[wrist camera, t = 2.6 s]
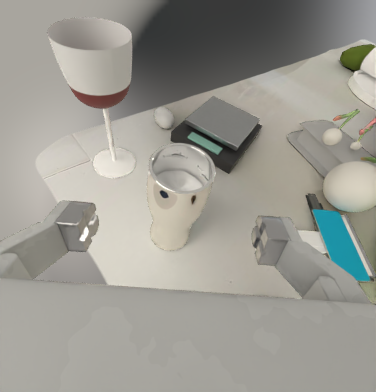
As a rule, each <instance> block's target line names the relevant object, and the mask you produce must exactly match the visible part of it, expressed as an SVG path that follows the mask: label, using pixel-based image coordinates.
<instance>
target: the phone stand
mask: <svg viewBox="0 0 376 392" xmlns="http://www.w3.org/2000/svg"><path fill="white" fill-rule="evenodd" d="M306 198H307V201H308V204H309V207H310V210H311V212H312V215H313V218H314V220H315V223H314V225H315V228H316V230H317V232H316V231H304V230H297V231H298V233H299V235H300V237H301V239H302V241H303V242H307V243H308V244H310V245H311V246H312V247H314V248H315V249H316V250H318V251H319V252H321V253H322V254H325V255H326V257H327V258H329V259H330V260H331V261H333V262H334V263H335V264H337V265H338V266H340V267H341V268H342V269H344V270H345V271H346V272H348V273H349V274H350V275H352V276H353V277H354V278H355V279H356V281H357V282H358V281H366V282H368V281H370V282H374V279H373V278H374V277H376V274H375V272H374V270H373V268H372V266H371V264H370V262H369V260H368V258H367V255H366V253H365V251H364V249H363V247H362V245H361V243H360V241H359V239H358V237H357V235H356V233H355V231H354V229H353V226H352V224H351V222H350V220H349V218H348V216H347V214H346V215H344V216H341V215H340V213H339V212H338V211H329V210H323V207H322V205H321V203H319V202H318V200H317V197H316V195H315V194H312V195H311V194H308V195H306Z"/></svg>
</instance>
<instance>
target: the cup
mask: <svg viewBox="0 0 376 392" xmlns="http://www.w3.org/2000/svg"><path fill="white" fill-rule="evenodd" d="M360 70H362V71H364V72H365V73H367V74H369V75H371V76H373V77H374V78H376V47H375V48H374V49H373V50H372V51H371V52H370V53H369V54H368V55H367V56H366V57H365V59H364V60H363V62H362V64H361V67H360Z"/></svg>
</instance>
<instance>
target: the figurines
mask: <svg viewBox="0 0 376 392" xmlns="http://www.w3.org/2000/svg"><path fill="white" fill-rule="evenodd" d="M359 112H360V111H359V110H358V109H356V110H355V111H353V112H351V113H348V114H345V115H339V116H337V117H335V118H334V119H333V121H336V120H340V119H343V118H346V117H349V116H350V117H349V118H348V119H347V120H346V121H345V122H344V123H343V124H342V126H341V127H340V128H339V129H337V128H331V129H328V130H326V131H325V132H324V133H323V135H322V141H323V142H324V143H325V144H326V145H330V146H331V145H335V144H337V143H339V142H340V141H341V139H342V132H341V131H340V129H341V128H342V127H343V126H344V125H345V124H346V123H347V122H348V121H349V120H350V119H351V118H353V117H354V116H355V115H356V114H357V113H359ZM375 123H376V117H375V118H374V119H373V120H372V121H371V122H370V123H369V124H368V125H367V126H366V127H365V128H364V129H361V130H360V131H359V134H360V135H361V136H360V137H359V139H358V141H356V142H353V143H352V144H351V145H350V148H351V149H352V150H358V149H360V148H361V143H360V142H359V141H360V140H361V138H362V137H363V135H364V134H365V133H366V132H367V131H368V130H370V129H371V128H372V127H373V126H372V125H373V124H375ZM360 159H361V160H363V161H370V162H372V163H376V158H373V157H361V158H360ZM323 193H324V196H325V198H326V200H327V201H328V202H329V203H330V204H331V205H332V206H334V207H335V208H337V209H339V210H342V211H346V212H363V211H366V210H369V209H371V208H373V207H375V206H376V167H375V166H373V165H371V164H369V163H365V162H359V161H352V162H346V163H343V164H340V165H338V166H336V167H335V168H333V169H332V170H331V171H330V172H329V173H328V174H327V175H326V177H325V179H324V182H323Z"/></svg>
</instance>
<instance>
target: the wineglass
mask: <svg viewBox="0 0 376 392" xmlns="http://www.w3.org/2000/svg"><path fill="white" fill-rule="evenodd" d="M47 33H48V36H49V39H50V43H51V45H52V48H53V51H54V54H55V57H56V59H57V62H58V64H59V66H60V68H61V71H62V73H63V75H64V77H65V79H66V81H67V83H68V85H69V86H70V88H71V90H72V92H73V93H74V95H75V96H76V97H77V98H78V99H79V100H80V101H81V102H83V103H84V104H86V105H88V106H91V107H94V108H102V109H103V114H104V119H105V125H106V130H107V135H108V140H109V146H110V148H109V149H105V150H103V151H101V152H99V153H98V154H97V155H96V156H95V158H94V160H93V167H94V169H95V171H96V172H97V173H98V174H99V175H102V176H104V177H107V178H120V177H123V176H126V175H128V174H129V173H131V172H132V171H133V169H134V168H135V165H136V159H135V157H134V155H133V154H132V153H131V152H129V151H127V150H125V149H122V148H115V147H114V141H113V135H112V129H111V123H110V117H109V111H108V108H109V107H112V106H114V105H116V104H118V103H119V102H120V101H122V100H123V99H124V97H125V96H126V94H127V92H128V89H129V86H130V81H131V69H132V35H131V32H130V31H129V30H128V29H127V28H126V27H125V26H123V25H121V24H119V23H116V22H113V21H110V20H105V19H100V18H71V19H65V20H62V21H59V22H56V23H54V24H53V25H51V26H50V27H49V28H48V32H47Z"/></svg>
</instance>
